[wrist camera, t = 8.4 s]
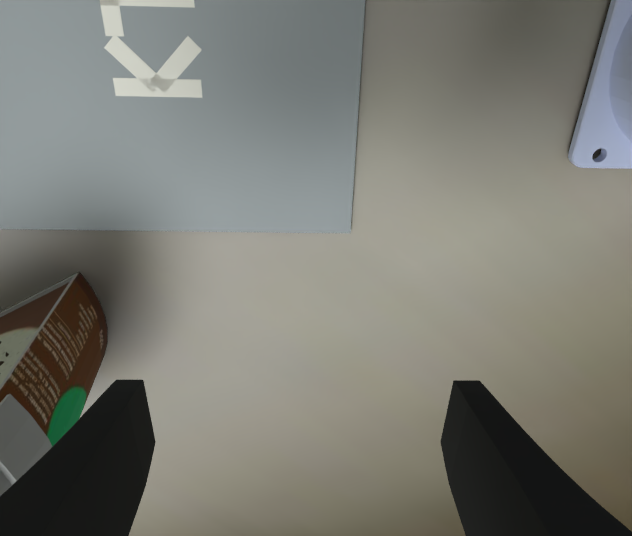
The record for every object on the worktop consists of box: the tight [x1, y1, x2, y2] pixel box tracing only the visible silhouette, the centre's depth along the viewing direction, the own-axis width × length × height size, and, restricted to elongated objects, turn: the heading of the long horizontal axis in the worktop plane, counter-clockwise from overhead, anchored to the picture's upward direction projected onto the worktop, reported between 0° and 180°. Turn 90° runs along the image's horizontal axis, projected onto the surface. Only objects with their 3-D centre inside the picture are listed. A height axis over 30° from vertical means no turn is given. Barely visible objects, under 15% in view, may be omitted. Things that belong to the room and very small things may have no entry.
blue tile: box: [0, 0, 365, 233], centre depth 17 cm, size 14×14×1 cm
